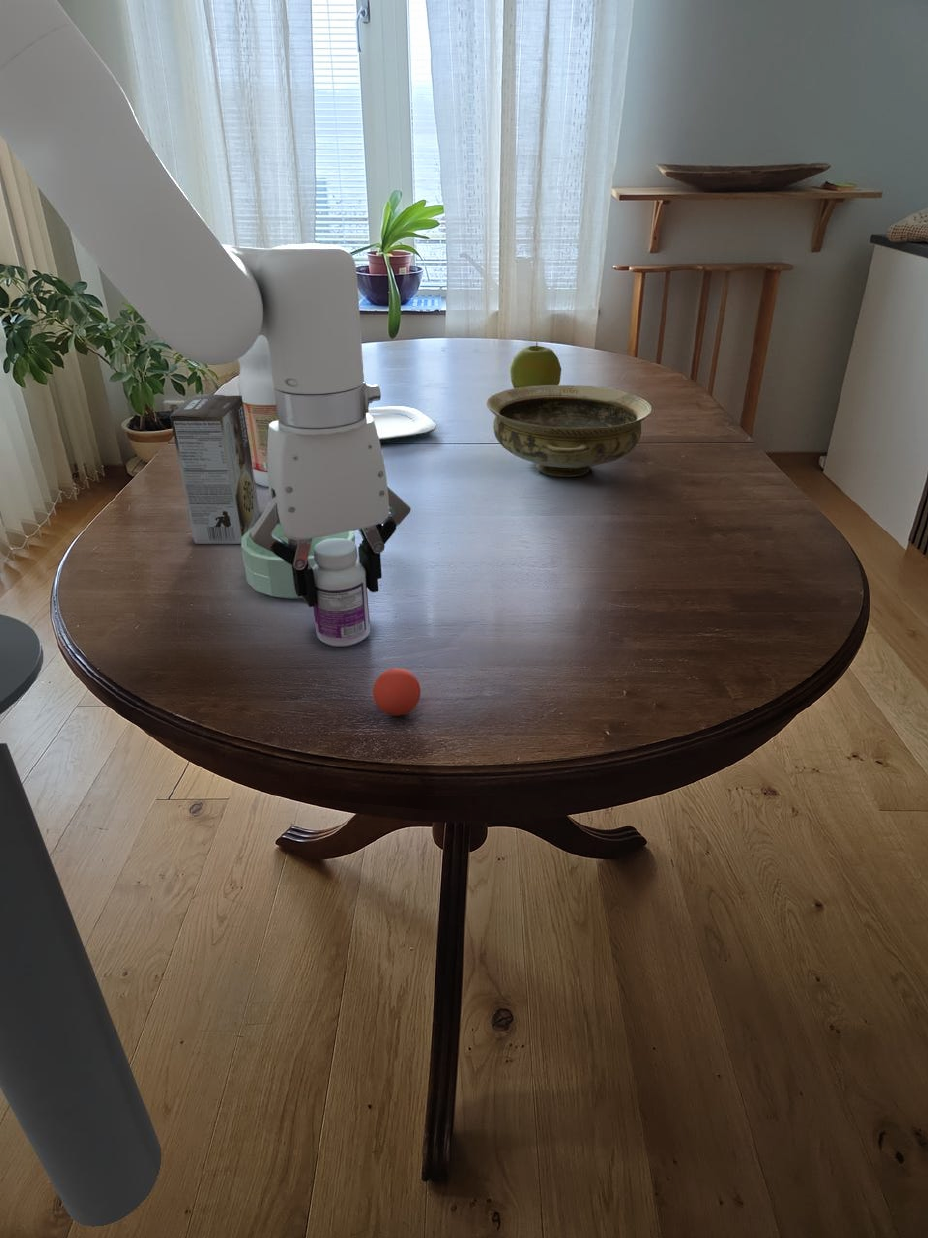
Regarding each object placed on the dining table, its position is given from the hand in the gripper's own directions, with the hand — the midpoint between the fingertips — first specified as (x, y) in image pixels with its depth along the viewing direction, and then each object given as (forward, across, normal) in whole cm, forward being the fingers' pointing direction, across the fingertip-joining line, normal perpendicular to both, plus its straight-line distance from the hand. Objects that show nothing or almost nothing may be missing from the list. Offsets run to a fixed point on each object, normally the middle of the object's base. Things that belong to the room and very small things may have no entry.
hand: (339, 591), depth 76 cm
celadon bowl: (+5, 0, -14) cm, 15 cm away
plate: (+5, -28, -62) cm, 68 cm away
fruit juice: (+5, -7, -47) cm, 47 cm away
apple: (+5, -62, -67) cm, 92 cm away
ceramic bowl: (+5, -46, -31) cm, 56 cm away
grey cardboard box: (+5, +5, -31) cm, 32 cm away
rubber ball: (+3, 0, +14) cm, 14 cm away
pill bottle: (+5, 0, 0) cm, 5 cm away
